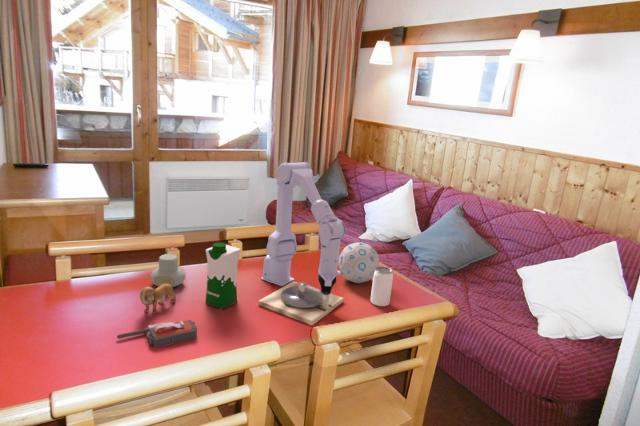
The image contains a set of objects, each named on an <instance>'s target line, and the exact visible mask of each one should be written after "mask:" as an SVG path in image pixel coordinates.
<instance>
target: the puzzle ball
mask: <svg viewBox="0 0 640 426" xmlns="http://www.w3.org/2000/svg"><path fill="white" fill-rule="evenodd" d="M377 267H380V258H379V255H378V252H377V251H376V249H375V248H374V247H372V246H371V245H370V244H368V243H365V242H361V241H359V242H358V241H357V242H351V243H349V244H348V245H346V246H345V247H344V248H343V249H342V250H341V252H339V259H338V268H339V271H340V272H341V275H342V276H343V278H345V280H348V281H349V282H351V283H354V284H363V283H365V282H369V281H370V280H373V276H374V272H375V270H376V268H377Z"/></svg>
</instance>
